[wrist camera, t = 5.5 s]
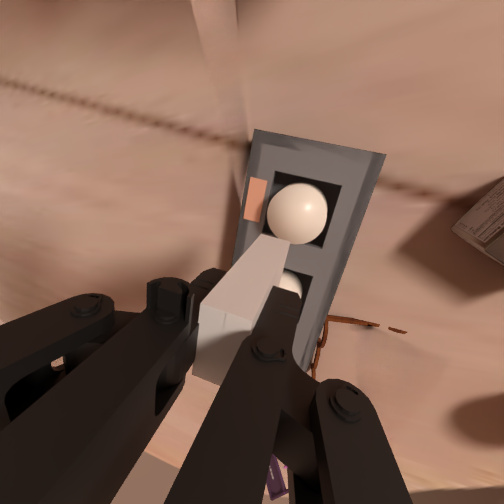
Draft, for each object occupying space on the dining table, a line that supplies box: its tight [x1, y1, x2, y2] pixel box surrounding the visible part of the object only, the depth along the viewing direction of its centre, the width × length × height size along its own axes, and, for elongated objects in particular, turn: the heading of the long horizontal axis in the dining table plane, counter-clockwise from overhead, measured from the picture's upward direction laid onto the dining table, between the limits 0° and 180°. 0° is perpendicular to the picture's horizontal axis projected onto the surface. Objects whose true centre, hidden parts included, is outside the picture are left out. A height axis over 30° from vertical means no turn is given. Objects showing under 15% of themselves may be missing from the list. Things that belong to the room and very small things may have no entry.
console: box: [231, 129, 386, 373], centre depth 29 cm, size 30×11×4 cm, turn 169°
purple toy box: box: [266, 454, 289, 500], centre depth 40 cm, size 7×5×9 cm
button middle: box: [279, 268, 303, 299], centre depth 27 cm, size 5×5×3 cm
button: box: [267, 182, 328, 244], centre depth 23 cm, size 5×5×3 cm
